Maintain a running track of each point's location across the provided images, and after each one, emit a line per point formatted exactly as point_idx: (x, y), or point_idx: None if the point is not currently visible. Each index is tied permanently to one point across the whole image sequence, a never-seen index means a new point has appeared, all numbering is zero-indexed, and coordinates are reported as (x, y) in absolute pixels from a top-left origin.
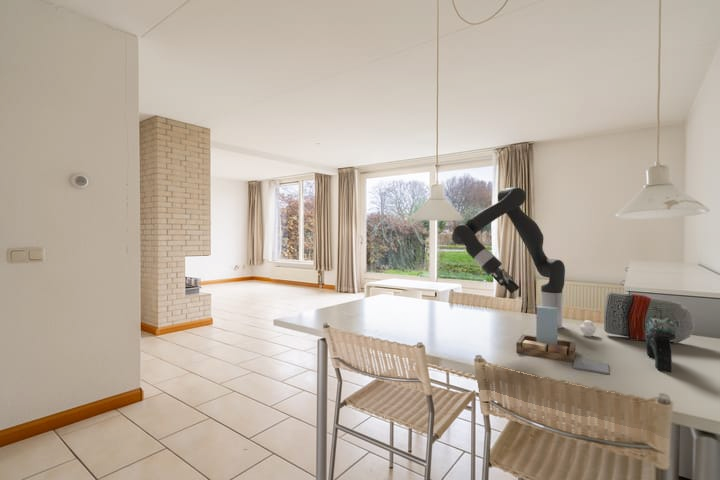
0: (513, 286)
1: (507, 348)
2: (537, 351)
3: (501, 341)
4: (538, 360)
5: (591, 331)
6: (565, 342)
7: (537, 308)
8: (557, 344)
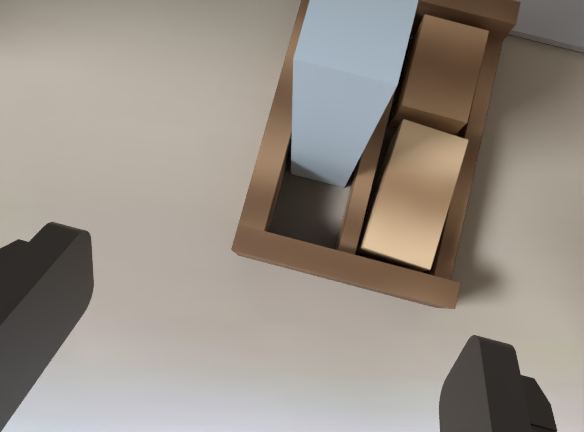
0: (42, 341)
1: (371, 355)
2: (469, 191)
3: (225, 386)
4: (534, 200)
5: None
6: None
7: (398, 80)
8: None
